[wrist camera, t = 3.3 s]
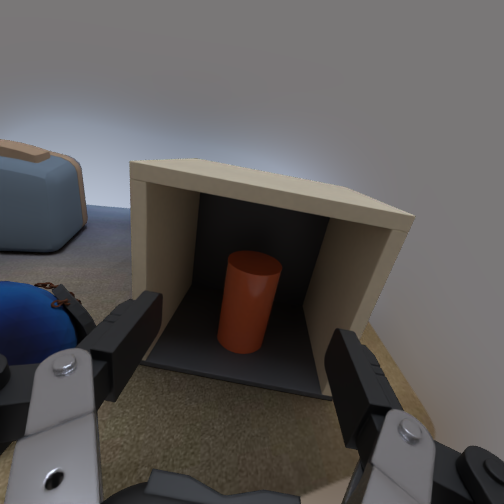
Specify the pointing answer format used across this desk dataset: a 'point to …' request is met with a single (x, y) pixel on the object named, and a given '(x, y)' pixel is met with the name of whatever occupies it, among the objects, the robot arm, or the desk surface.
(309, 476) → the desk surface
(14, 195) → the blue rounded box
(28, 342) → the bomb
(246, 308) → the glossy red cylinder
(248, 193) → the open cubby shelf
